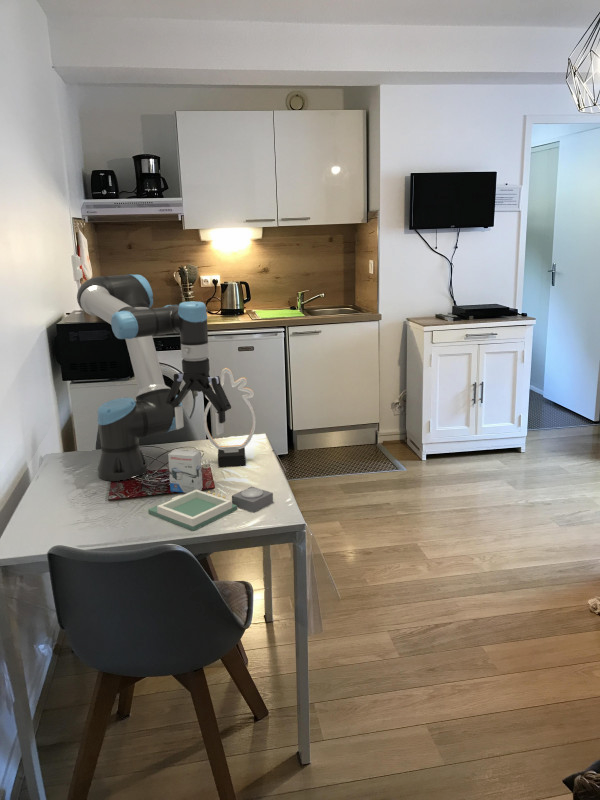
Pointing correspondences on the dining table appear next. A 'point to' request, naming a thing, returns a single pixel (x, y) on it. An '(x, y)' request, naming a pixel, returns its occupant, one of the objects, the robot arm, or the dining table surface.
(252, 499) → the push button
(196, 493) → the board
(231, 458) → the lamp
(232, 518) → the dining table surface
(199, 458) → the ink box
